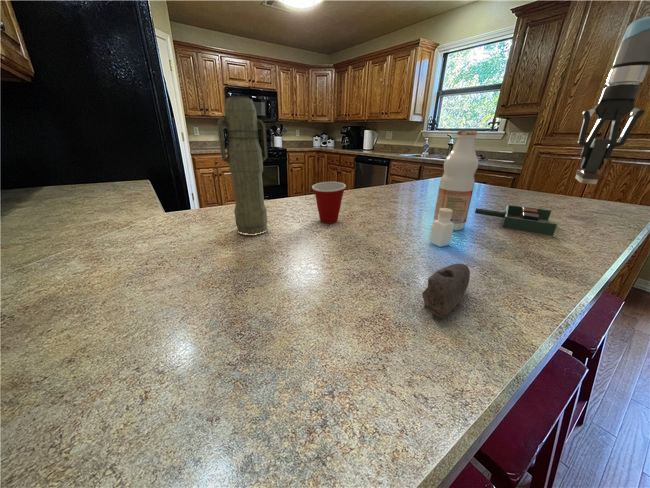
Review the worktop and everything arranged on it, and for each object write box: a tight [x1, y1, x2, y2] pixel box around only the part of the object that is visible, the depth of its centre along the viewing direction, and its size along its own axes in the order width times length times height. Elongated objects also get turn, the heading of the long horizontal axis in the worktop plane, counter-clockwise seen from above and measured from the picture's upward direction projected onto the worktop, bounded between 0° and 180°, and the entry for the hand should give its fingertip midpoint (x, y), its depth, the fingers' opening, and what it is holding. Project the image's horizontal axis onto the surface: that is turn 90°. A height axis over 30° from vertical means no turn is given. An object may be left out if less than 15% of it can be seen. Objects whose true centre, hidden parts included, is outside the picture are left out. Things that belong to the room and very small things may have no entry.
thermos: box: [216, 95, 269, 237], centre depth 72 cm, size 9×12×35 cm
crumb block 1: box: [519, 207, 538, 219], centre depth 90 cm, size 4×4×4 cm
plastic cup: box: [311, 181, 347, 224], centre depth 86 cm, size 11×11×12 cm
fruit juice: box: [432, 130, 479, 231], centre depth 80 cm, size 9×9×28 cm
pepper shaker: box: [429, 208, 454, 248], centre depth 70 cm, size 4×4×10 cm
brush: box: [574, 138, 610, 185], centre depth 86 cm, size 4×12×13 cm, turn 147°
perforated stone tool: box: [421, 263, 471, 319], centre depth 46 cm, size 15×5×7 cm, turn 135°
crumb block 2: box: [521, 212, 540, 221], centre depth 85 cm, size 4×4×4 cm
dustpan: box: [474, 204, 558, 236], centre depth 90 cm, size 22×18×4 cm
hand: (589, 168), depth 87 cm, fingers closed on brush, 3 cm apart
